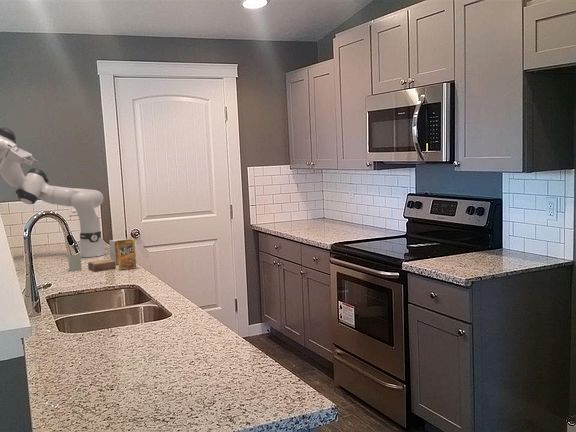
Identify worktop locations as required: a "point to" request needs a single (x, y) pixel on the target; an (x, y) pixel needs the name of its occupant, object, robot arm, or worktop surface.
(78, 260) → the block
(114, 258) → the small box
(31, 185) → the robot arm
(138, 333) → the worktop surface
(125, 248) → the candy box
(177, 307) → the worktop surface
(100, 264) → the base
